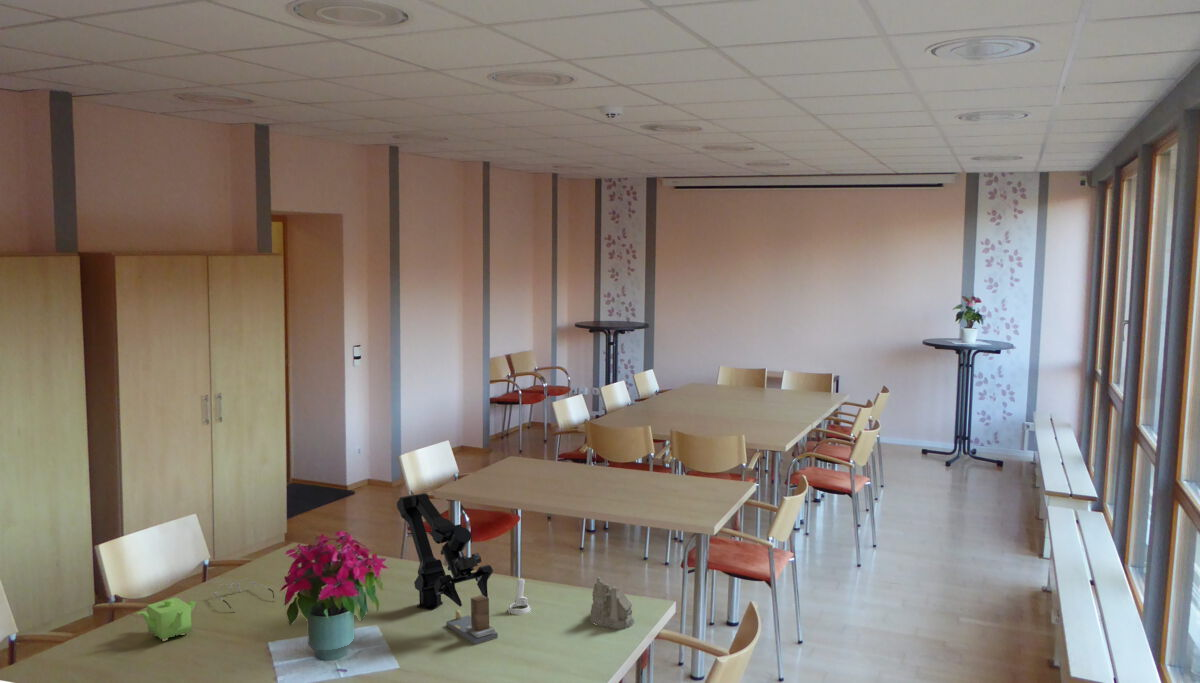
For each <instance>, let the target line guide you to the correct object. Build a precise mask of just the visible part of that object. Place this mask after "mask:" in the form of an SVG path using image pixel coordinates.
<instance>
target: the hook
mask: <svg viewBox="0 0 1200 683" xmlns="http://www.w3.org/2000/svg"><path fill="white" fill-rule="evenodd" d="M525 582H526V580H525V579H524V578H518V579H517V584H516V592H515V598H514V602H513V603H511V604H510V605H509V607H508V609H507V613H508V612H509V613H508V614H510V613H511V614H510V615H513V614H524V613H527V612H529V611H530V610H531V611H532V609H531V606H530V605H529V604H528V598H527V597H526V596H524V589H525ZM516 606H525V607H524V608H521V609H520V608H519V609H517V607H516ZM513 607H514V608H513ZM531 611H530V612H531ZM530 612H529V613H530ZM527 614H528V613H527ZM524 615H525V614H524Z"/></svg>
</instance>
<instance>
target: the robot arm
mask: <svg viewBox="0 0 1200 683" xmlns="http://www.w3.org/2000/svg"><path fill="white" fill-rule="evenodd" d="M396 508H397V510H398V512H399V514H400V516H401V518H402V519H403V520H404V521H406V522H407V524H408V527H409V529H410V534H411V536H412V540H413V543H414V546H415V550H416V554H417V557H418V560H419V561H418V562H419V565H418V569H417V577H416V579H415V580H414V582H413V583H414V589H415V590H417V591H419V592H418V593H419V594H418V595H419V603H418V604H417V605H416V608H422V609H427V610H434V609H436V608H438V607H439V606H441V605H442V604H444V602H443V601H442V595H445V597H448V598H449V599H450V600H452V602H454V603H455V604H456V605H457V606H458V607H462V604H463V603H462V601H461V599H460V596H459V594H458V591H457V589H456V584H459V583H463V582H467V581H470V580H474V579H475V581H476V582H477V583H476V585H477V587H478V589H479V591H480V593H481V595H484V596H485V597H487V598H489V596H488V580H489V578H490V577H491V576H492V574H493V573H494V569H493V567H492V566H491V565H489V564H486V565H481V566H479V564H480V563H482V557H481V554H480V553H479V552H475V553H473V554H471V556H470V557H468V556H467V555H464V552H463V551H464V550H465V549H466V547H467V546H468V544H469V543H470V541H471V540H472V532H471V531H470V530H469V529H468V528H466V527H463V526H462V524H454V523H453V522H452V521H451V520H450V519H447V518H445V517H443V515H441V513H440V512H439V510H438V508H436V506H435V505H434V504H433V502H432V500H430V496H429V494H428V493H425V492H424V493H423V492H422V493H419V494H418V493H417V494H410V495H404V496H401V497H399V498H398V501H396ZM423 519H424V521H426V523H427V525H428V526H429V527H430V529H431V530H430V536H431V537H432V540H433V541H434V543H435V544H437V545H439V544H444V545H442V546H441V550H440V555H441V556H442V555H444V558H445V561H446V563H447V565H448V566H447V570H448V572H450V573H451V575H450V574H446V571H445V569H444V566H443V563H442V560H441V559H437V558H436V557H435V556H434V552H433V549H432V546H431V544H430V541H429V537H428V533H427V530H426V527H425V523H424V521H423ZM478 566H479V567H478ZM474 567H475V568H476V567H478V568H477V570H476V571H474V570H475V568H474ZM472 571H473V572H472Z"/></svg>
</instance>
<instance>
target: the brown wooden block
mask: <svg viewBox="0 0 1200 683" xmlns="http://www.w3.org/2000/svg"><path fill="white" fill-rule="evenodd" d="M470 617H471V626H467V627H466V631H468V632H469V633H471V634H472V635H474V636H476V637H477V638H479V637H482V636H486V635H489V634H492V633H495V632H496V631H495V628H494V627H492V626H490V600H489V597H488V598H487V597H485V596H484V595H482V594H480V595H476V596H472V597H470Z"/></svg>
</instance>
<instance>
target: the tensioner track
mask: <svg viewBox="0 0 1200 683" xmlns="http://www.w3.org/2000/svg"><path fill="white" fill-rule="evenodd" d="M461 614H462V613H461V610H459V609H458V610H455V618H454V619H451V620H450V619H449V620H447V621H446V625H445V626H446V627H447V626H448V627H447V628H449V629H450V628H451V629H450V630H452V631H453V630H454V631H453V632H455V633H457V634H458V633H459V634H458V635H459V636H461V635H462V636H461V637H463V638H464V637H465V638H464V639H466V640H467V639H468V640H467V641H469V640H470V641H471V643H472V644H474V645H477V643H478V644H481V643H484V642H483V641H485V642H487V641H486V640H488V641H490V639H491V640H493V638H495V639H497V638H496V637H498V636H499V634H498V632H496V631H495V633H492V634H489V635H486V636H482V637H479V638H477V637H476V636H474V635H472V634H471V633H469V632H468V631H466V627H467V626H471V615H464V616H461ZM470 641H469V642H470ZM480 642H481V643H480Z"/></svg>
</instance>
